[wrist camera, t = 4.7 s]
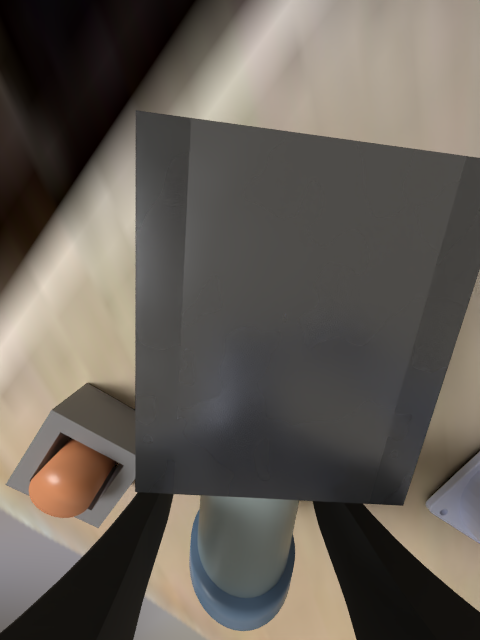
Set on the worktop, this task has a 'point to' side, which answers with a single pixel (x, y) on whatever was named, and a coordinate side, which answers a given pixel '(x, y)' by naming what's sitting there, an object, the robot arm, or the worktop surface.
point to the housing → (293, 308)
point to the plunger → (70, 480)
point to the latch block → (93, 431)
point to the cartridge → (242, 558)
